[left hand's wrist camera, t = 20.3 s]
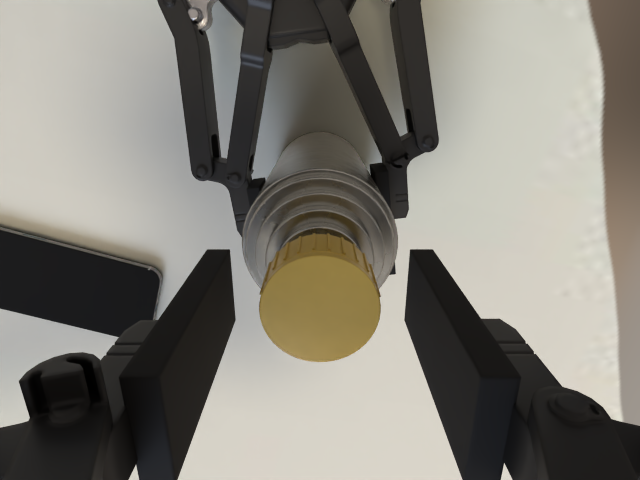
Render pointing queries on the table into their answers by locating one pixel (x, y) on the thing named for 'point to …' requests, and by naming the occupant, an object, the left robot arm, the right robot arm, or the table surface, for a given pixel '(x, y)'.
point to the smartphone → (74, 284)
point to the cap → (319, 298)
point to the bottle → (319, 205)
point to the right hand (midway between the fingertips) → (329, 272)
